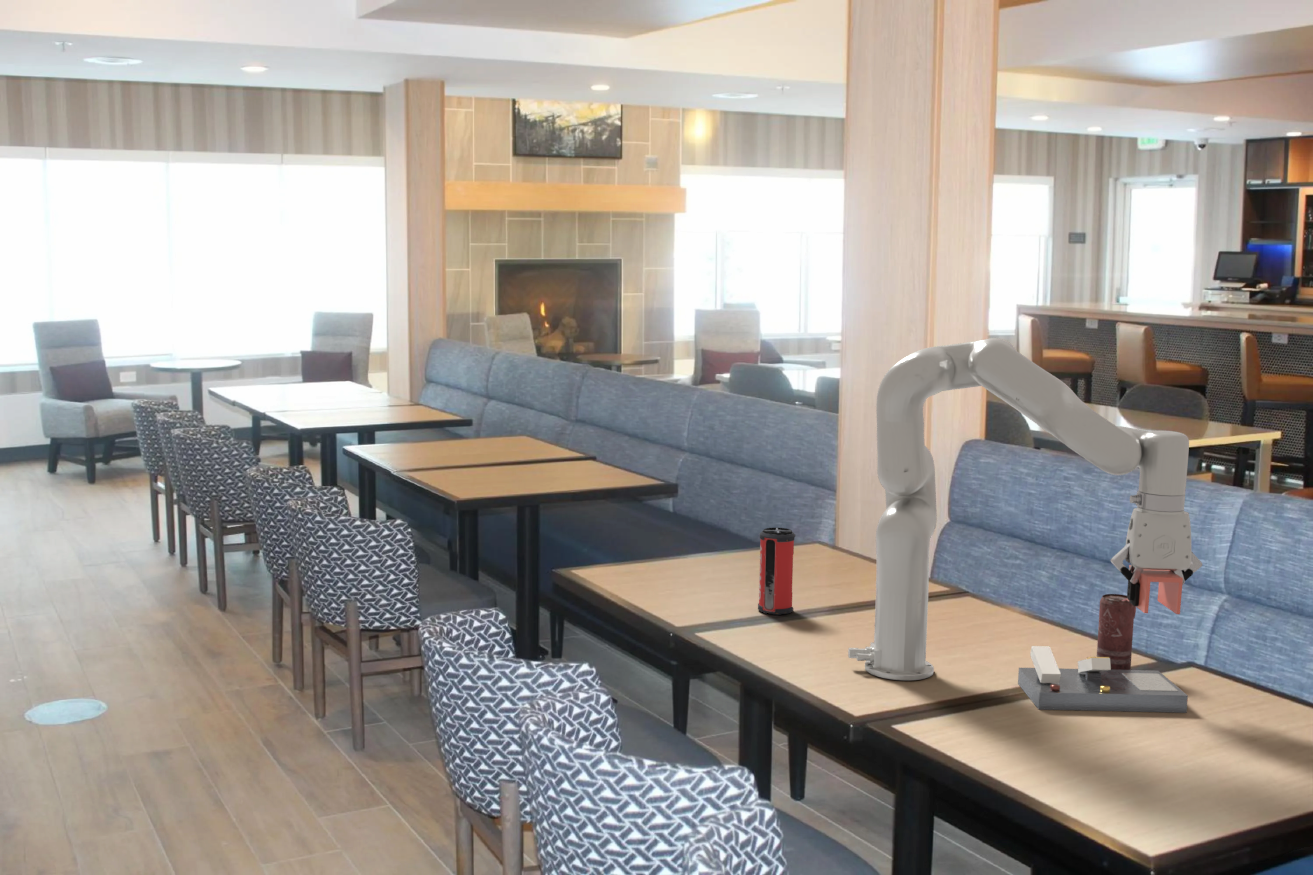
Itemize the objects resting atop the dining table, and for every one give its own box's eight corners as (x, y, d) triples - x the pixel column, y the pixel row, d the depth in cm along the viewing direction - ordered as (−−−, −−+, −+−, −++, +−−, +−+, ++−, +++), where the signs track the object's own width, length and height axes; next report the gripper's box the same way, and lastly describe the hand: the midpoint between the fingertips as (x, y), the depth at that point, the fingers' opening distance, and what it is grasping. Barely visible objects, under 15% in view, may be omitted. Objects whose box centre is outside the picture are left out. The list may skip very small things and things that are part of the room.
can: (1134, 675, 241) (1138, 601, 239) (1098, 672, 242) (1102, 599, 240) (1129, 665, 247) (1133, 593, 245) (1094, 663, 248) (1098, 591, 246)
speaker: (794, 615, 279) (797, 533, 277) (759, 615, 280) (761, 533, 277) (791, 606, 287) (793, 526, 285) (756, 606, 287) (758, 526, 285)
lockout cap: (1144, 613, 221) (1147, 576, 220) (1126, 599, 230) (1129, 564, 229) (1179, 614, 221) (1182, 578, 220) (1160, 600, 230) (1163, 566, 229)
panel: (1038, 709, 221) (1039, 685, 221) (1017, 683, 235) (1019, 660, 235) (1186, 712, 221) (1188, 688, 220) (1157, 686, 235) (1158, 663, 234)
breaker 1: (1040, 682, 225) (1042, 673, 224) (1030, 654, 232) (1031, 645, 232) (1059, 683, 225) (1060, 674, 224) (1048, 655, 232) (1049, 646, 231)
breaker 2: (1091, 669, 224) (1091, 656, 225) (1078, 672, 232) (1077, 660, 232) (1110, 669, 224) (1110, 656, 225) (1096, 672, 232) (1095, 660, 232)
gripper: (1117, 505, 220) (1110, 609, 222) (1220, 508, 219) (1211, 612, 222) (1103, 497, 227) (1096, 598, 230) (1202, 500, 227) (1194, 601, 229)
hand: (1153, 603), depth 226 cm, fingers closed on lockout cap, 6 cm apart
